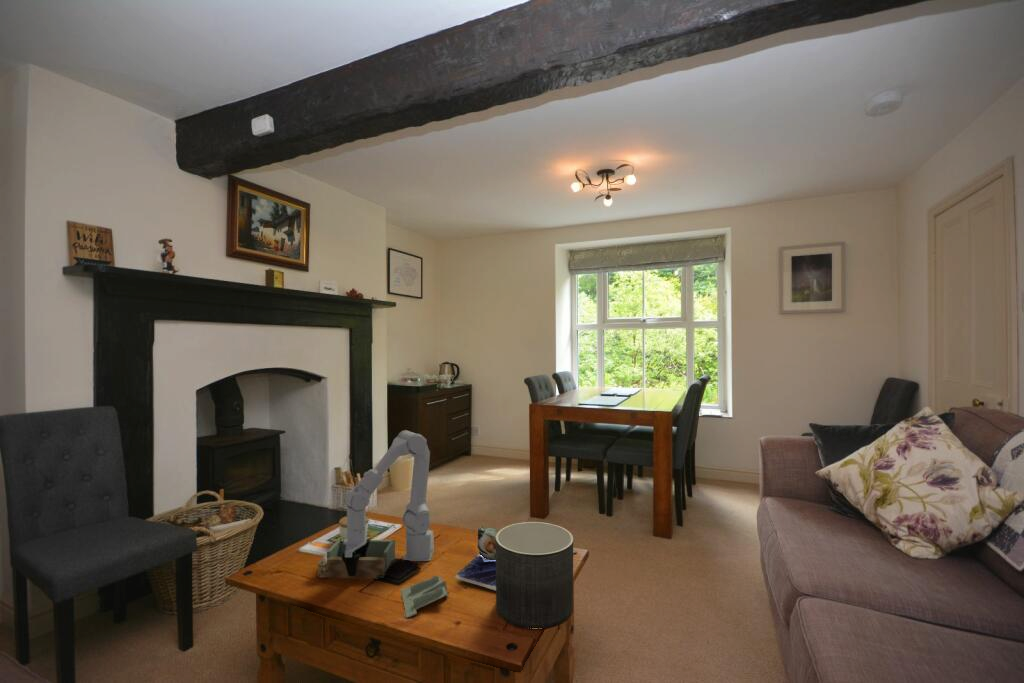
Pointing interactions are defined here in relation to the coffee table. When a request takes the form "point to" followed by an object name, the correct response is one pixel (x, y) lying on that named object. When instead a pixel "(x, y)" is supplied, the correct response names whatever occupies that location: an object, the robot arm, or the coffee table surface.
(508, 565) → the planter
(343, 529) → the lidded jar
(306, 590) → the coffee table surface
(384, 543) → the sage green open box
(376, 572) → the brown gear-headed lever
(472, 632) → the coffee table surface
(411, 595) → the metal bracket
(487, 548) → the lucky cat figurine
